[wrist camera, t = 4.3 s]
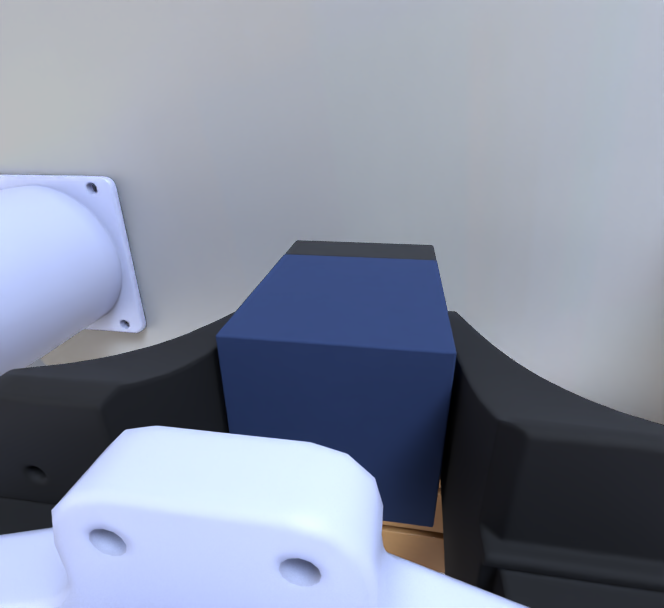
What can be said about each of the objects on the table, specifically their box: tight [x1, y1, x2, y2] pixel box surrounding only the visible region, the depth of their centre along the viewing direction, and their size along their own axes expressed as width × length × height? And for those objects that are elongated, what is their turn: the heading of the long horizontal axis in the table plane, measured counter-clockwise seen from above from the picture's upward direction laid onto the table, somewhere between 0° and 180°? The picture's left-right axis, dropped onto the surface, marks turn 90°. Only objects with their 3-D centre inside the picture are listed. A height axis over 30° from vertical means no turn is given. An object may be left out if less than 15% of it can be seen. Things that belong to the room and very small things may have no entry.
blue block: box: [216, 240, 457, 527], centre depth 12 cm, size 7×4×6 cm, turn 1°
